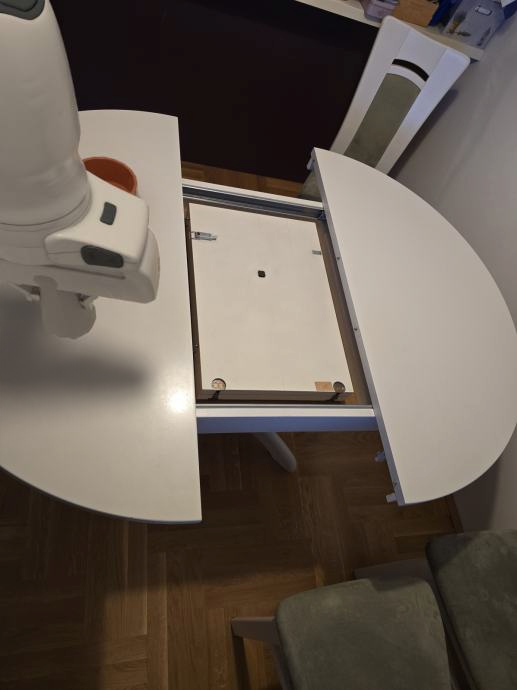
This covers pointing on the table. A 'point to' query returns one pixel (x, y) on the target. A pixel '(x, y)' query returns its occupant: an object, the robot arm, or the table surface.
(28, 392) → the table surface
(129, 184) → the pot
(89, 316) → the grey rounded piece
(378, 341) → the table surface
